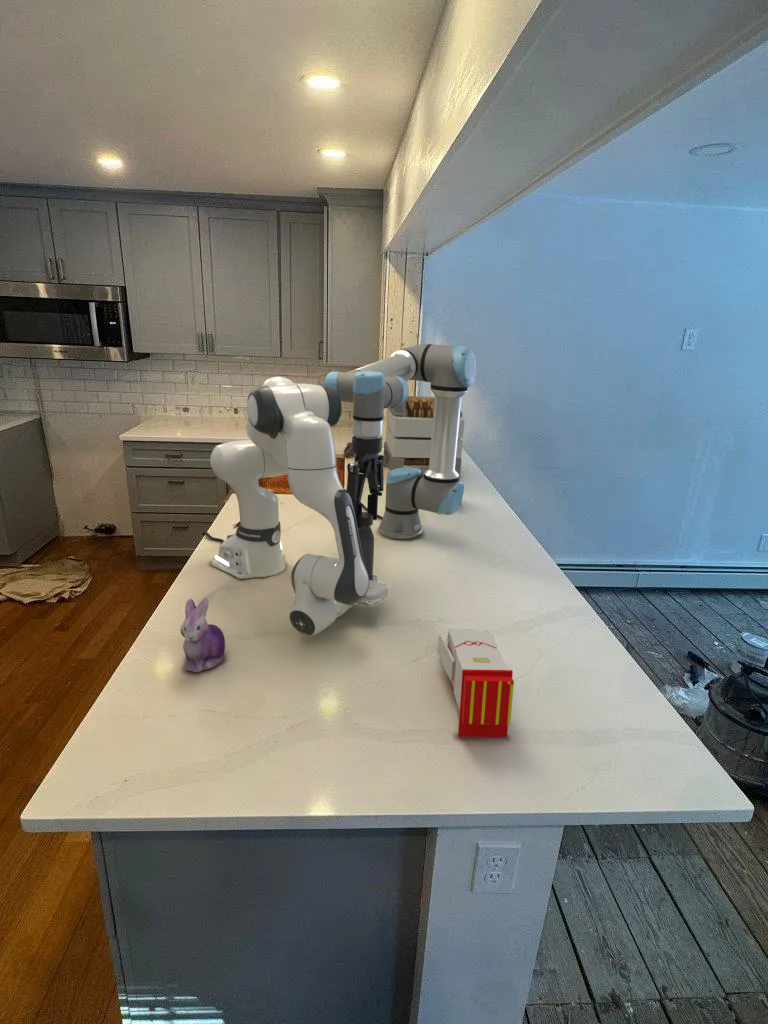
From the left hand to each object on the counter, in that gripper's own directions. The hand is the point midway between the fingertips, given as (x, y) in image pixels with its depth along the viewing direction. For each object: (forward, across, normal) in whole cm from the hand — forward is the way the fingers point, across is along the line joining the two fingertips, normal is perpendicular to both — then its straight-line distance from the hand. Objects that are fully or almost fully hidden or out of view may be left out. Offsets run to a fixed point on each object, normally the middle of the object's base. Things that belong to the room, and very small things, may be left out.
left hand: (364, 574), depth 154 cm
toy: (-25, -40, +6) cm, 47 cm away
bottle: (-1, 0, +6) cm, 6 cm away
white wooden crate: (+122, +37, +6) cm, 128 cm away
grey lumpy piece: (+137, +81, +6) cm, 159 cm away
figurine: (-45, +15, +6) cm, 48 cm away
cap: (-1, 0, -17) cm, 17 cm away
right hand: (-1, 0, -16) cm, 16 cm away
